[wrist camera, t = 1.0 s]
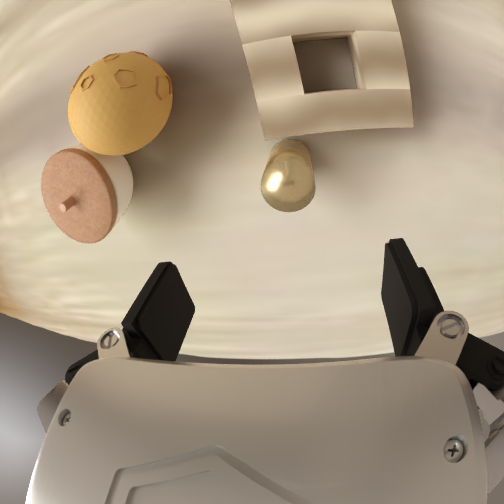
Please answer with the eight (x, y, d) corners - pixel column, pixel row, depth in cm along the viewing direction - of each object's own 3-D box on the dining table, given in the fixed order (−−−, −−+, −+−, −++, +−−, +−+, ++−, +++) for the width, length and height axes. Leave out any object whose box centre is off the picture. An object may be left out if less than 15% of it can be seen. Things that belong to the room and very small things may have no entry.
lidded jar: (141, 222, 33) (102, 267, 26) (78, 196, 32) (34, 231, 25) (156, 144, 27) (107, 174, 20) (84, 122, 26) (29, 146, 19)
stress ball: (165, 145, 28) (205, 120, 20) (83, 178, 23) (85, 162, 15) (142, 70, 24) (173, 23, 16) (60, 95, 20) (59, 48, 12)
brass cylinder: (266, 142, 26) (255, 166, 19) (306, 136, 25) (311, 158, 18) (274, 179, 28) (266, 214, 21) (313, 174, 27) (318, 208, 20)
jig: (224, -40, 14) (202, -67, 9) (355, -53, 11) (369, -82, 5) (269, 132, 25) (260, 148, 19) (398, 120, 22) (428, 134, 16)
